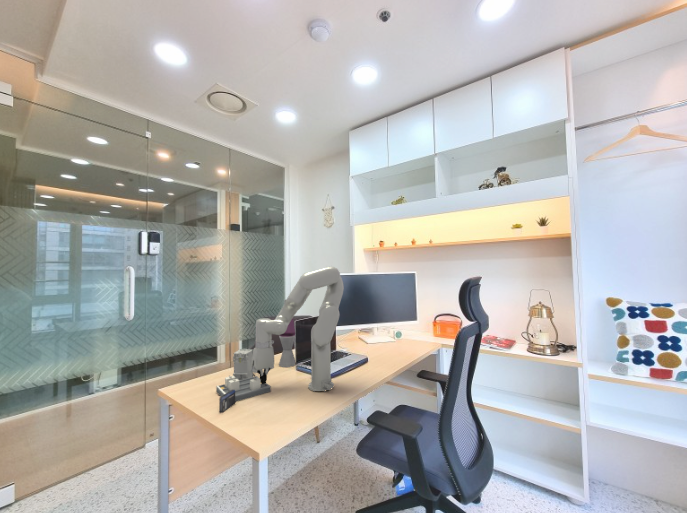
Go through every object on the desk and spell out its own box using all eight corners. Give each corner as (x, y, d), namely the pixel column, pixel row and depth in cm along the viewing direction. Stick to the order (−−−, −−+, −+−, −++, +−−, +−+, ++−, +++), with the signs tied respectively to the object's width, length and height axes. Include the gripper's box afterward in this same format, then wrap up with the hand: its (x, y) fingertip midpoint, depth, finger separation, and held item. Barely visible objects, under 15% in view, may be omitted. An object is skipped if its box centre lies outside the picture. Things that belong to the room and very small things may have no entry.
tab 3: (260, 388, 136) (260, 378, 136) (252, 390, 133) (252, 380, 134) (258, 386, 138) (258, 376, 138) (249, 388, 136) (249, 378, 136)
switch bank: (270, 391, 137) (270, 385, 138) (227, 404, 125) (227, 397, 125) (256, 381, 151) (256, 375, 151) (216, 391, 138) (216, 385, 138)
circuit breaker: (257, 373, 162) (257, 346, 163) (246, 383, 148) (246, 353, 149) (244, 373, 163) (245, 346, 164) (232, 382, 149) (233, 353, 150)
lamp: (281, 361, 183) (281, 298, 185) (298, 361, 182) (298, 298, 184) (276, 367, 172) (276, 300, 174) (293, 367, 171) (293, 300, 173)
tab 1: (235, 385, 139) (235, 376, 139) (226, 387, 137) (227, 378, 137) (233, 383, 142) (233, 374, 142) (224, 386, 139) (225, 376, 139)
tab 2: (239, 389, 135) (239, 379, 135) (230, 391, 132) (230, 381, 133) (237, 387, 137) (237, 377, 138) (228, 389, 135) (228, 379, 135)
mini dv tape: (222, 412, 117) (222, 397, 118) (219, 412, 118) (219, 397, 118) (235, 403, 125) (235, 389, 125) (232, 403, 126) (232, 389, 126)
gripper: (274, 340, 147) (274, 377, 146) (245, 345, 138) (245, 384, 137) (281, 343, 141) (280, 381, 140) (251, 348, 132) (250, 389, 131)
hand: (263, 382), depth 138 cm, fingers closed
